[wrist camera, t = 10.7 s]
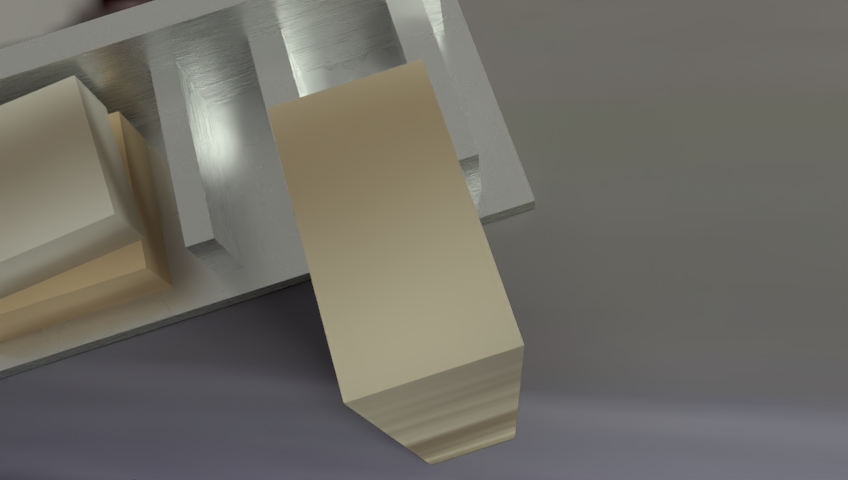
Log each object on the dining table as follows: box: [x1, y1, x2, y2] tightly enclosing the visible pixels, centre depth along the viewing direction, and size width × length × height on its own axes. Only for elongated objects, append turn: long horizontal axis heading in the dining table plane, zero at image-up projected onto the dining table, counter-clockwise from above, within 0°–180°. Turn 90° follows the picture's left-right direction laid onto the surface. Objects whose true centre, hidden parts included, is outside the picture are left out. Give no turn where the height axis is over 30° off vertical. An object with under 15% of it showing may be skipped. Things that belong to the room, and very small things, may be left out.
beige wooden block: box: [267, 59, 524, 465], centre depth 16 cm, size 4×2×12 cm, turn 17°
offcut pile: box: [0, 75, 173, 341], centre depth 22 cm, size 6×6×4 cm
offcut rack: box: [0, 0, 535, 379], centre depth 22 cm, size 8×18×5 cm, turn 107°
